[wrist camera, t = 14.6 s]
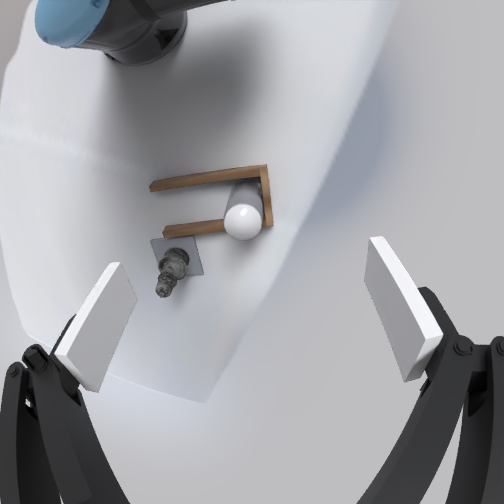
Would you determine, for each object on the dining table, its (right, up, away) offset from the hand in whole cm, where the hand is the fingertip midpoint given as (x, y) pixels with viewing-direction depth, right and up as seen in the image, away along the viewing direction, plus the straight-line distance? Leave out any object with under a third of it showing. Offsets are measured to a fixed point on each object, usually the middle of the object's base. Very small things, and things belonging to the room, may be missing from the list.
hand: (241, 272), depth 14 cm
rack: (-7, +10, +35) cm, 37 cm away
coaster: (-14, 0, +41) cm, 44 cm away
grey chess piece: (-14, 0, +41) cm, 44 cm away
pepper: (-1, +11, +34) cm, 36 cm away
